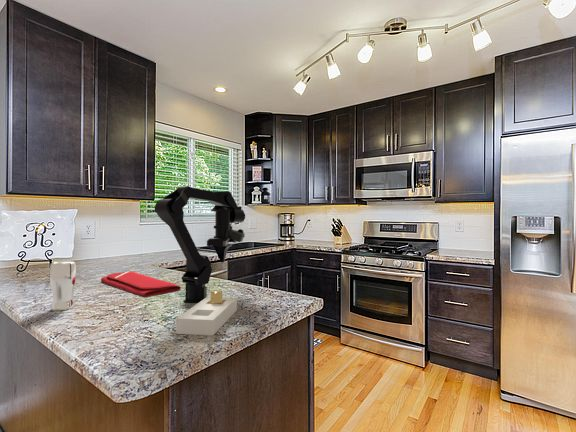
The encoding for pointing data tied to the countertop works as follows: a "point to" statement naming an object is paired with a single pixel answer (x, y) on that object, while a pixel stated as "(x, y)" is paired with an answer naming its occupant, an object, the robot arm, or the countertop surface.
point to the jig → (206, 317)
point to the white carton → (62, 284)
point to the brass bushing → (216, 297)
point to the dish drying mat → (139, 283)
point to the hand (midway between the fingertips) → (222, 262)
